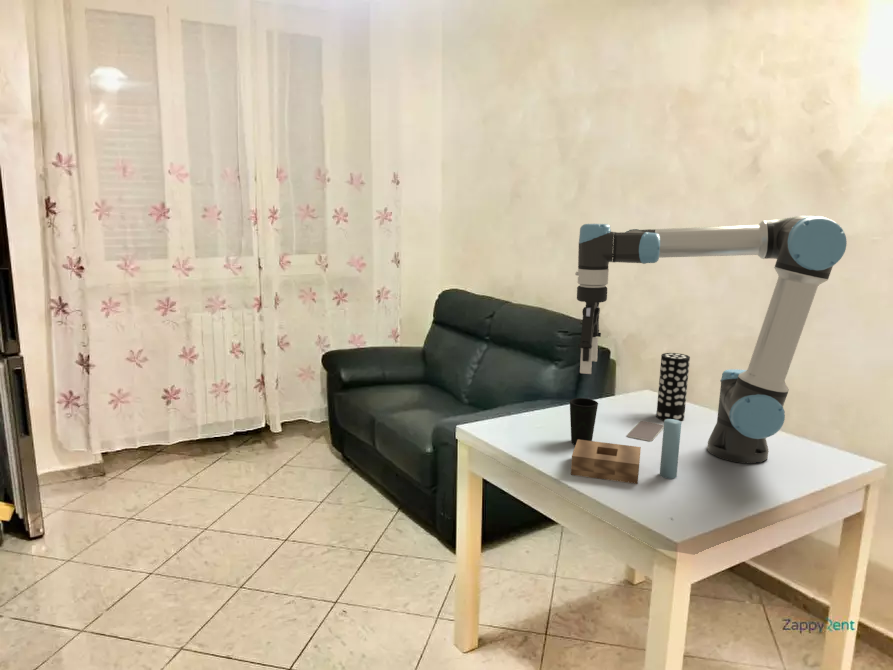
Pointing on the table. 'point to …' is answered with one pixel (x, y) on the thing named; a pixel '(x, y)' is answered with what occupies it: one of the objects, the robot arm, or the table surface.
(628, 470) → the bore block
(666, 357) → the white-spotted black cylinder
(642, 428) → the smartphone
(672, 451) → the pin
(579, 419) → the cup
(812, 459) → the table surface
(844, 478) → the table surface
